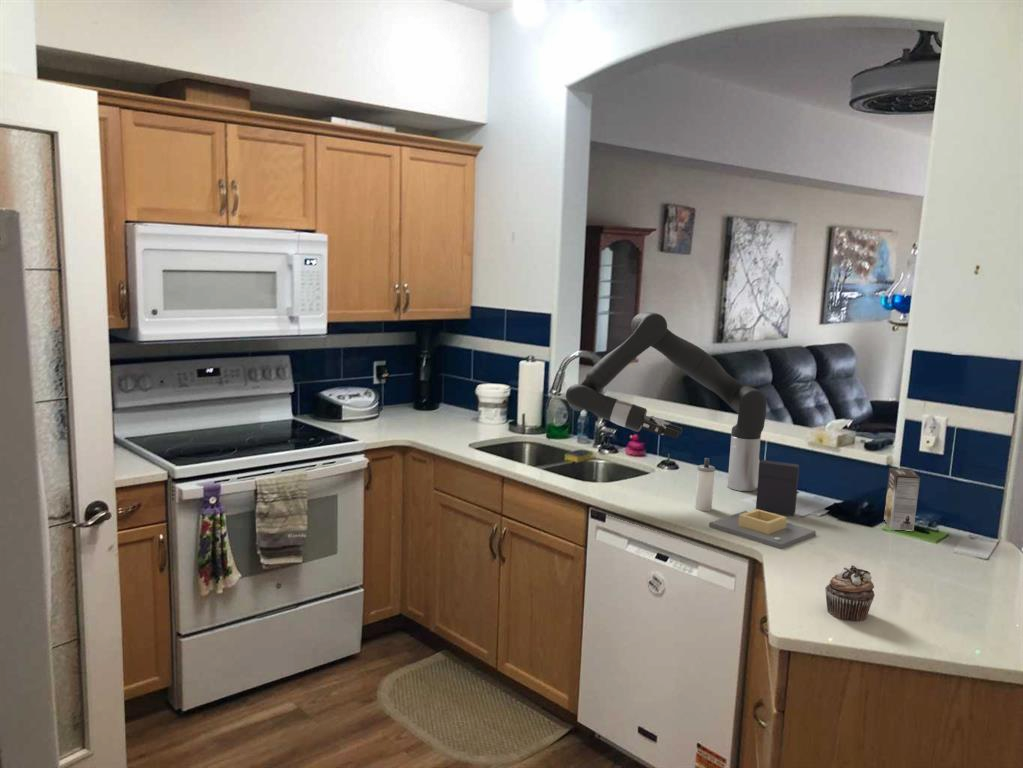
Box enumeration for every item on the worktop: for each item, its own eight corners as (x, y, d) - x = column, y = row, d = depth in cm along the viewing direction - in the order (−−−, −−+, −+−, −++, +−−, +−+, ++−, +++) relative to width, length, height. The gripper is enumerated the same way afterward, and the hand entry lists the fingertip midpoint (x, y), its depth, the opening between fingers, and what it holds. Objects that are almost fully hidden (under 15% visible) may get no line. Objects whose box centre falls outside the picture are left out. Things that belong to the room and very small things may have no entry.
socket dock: (744, 514, 241) (746, 500, 240) (815, 534, 225) (816, 520, 224) (709, 526, 229) (710, 512, 228) (780, 548, 213) (782, 533, 212)
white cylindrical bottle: (701, 505, 249) (704, 455, 247) (715, 509, 245) (719, 459, 243) (691, 508, 246) (694, 457, 243) (705, 512, 242) (709, 461, 240)
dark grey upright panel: (795, 513, 244) (799, 463, 242) (793, 516, 240) (798, 467, 238) (757, 507, 249) (761, 459, 247) (755, 511, 245) (759, 462, 243)
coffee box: (882, 520, 240) (888, 467, 237) (906, 522, 239) (912, 468, 236) (890, 530, 231) (896, 475, 228) (915, 532, 230) (921, 477, 227)
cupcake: (835, 600, 181) (839, 557, 180) (879, 615, 174) (884, 570, 173) (814, 612, 175) (818, 567, 173) (859, 627, 168) (864, 581, 166)
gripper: (628, 405, 242) (680, 424, 238) (636, 401, 256) (686, 419, 251) (620, 429, 243) (672, 448, 239) (628, 424, 257) (678, 442, 253)
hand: (679, 433), depth 245 cm, fingers open, 8 cm apart
